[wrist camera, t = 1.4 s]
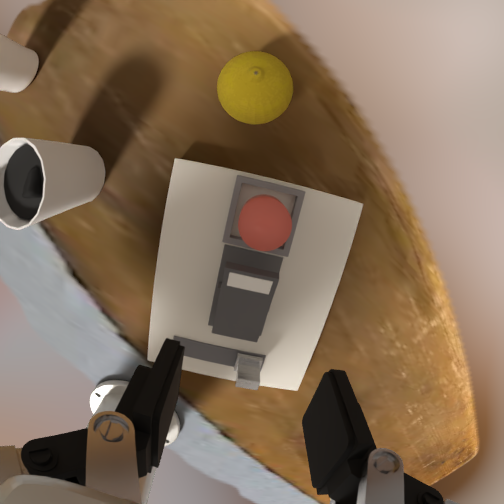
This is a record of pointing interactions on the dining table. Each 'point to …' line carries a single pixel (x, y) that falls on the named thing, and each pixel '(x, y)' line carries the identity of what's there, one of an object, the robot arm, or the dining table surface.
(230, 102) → the lemon
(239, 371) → the slide paddle
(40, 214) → the white cup
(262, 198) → the push button
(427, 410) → the dining table surface
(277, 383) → the switch panel
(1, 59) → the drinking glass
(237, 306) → the rocker switch
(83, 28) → the dining table surface
